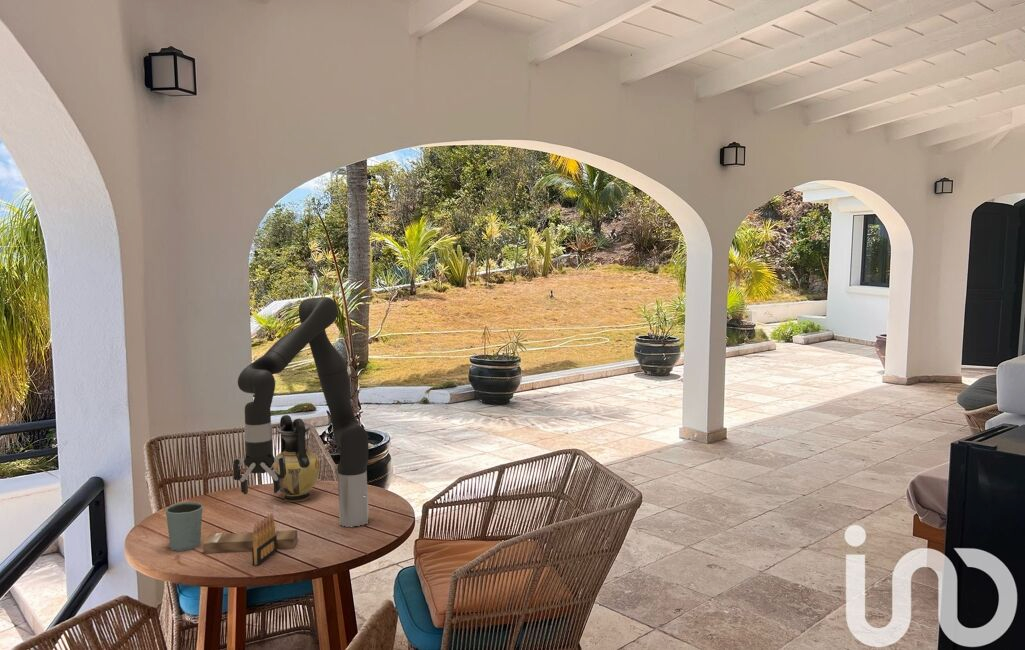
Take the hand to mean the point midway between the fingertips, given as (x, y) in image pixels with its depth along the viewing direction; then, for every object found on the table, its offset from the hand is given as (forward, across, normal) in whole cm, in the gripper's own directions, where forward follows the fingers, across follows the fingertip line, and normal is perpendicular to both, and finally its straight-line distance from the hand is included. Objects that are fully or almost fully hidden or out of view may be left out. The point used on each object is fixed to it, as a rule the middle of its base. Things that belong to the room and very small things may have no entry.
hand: (260, 492), depth 213 cm
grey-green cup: (+20, +26, -12) cm, 34 cm away
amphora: (+20, +1, -52) cm, 56 cm away
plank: (+19, +6, -9) cm, 22 cm away
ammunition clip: (+20, -1, 0) cm, 20 cm away
